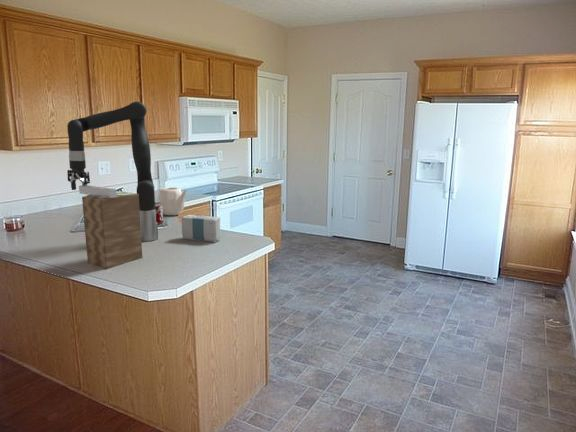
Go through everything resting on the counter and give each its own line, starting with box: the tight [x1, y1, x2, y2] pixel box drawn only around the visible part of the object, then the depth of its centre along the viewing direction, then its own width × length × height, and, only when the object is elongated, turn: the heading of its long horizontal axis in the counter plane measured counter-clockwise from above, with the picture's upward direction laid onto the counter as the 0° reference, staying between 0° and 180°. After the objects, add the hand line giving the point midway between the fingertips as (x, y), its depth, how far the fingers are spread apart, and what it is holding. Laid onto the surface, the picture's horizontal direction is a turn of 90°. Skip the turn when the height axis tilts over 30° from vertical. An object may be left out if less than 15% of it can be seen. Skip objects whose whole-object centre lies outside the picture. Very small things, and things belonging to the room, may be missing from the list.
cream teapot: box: [158, 186, 188, 216], centre depth 314 cm, size 16×27×19 cm, turn 59°
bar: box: [78, 184, 117, 198], centre depth 203 cm, size 22×4×4 cm, turn 59°
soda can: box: [155, 203, 164, 225], centre depth 287 cm, size 7×7×12 cm
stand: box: [81, 190, 143, 270], centre depth 209 cm, size 14×20×32 cm
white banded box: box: [181, 205, 221, 242], centre depth 249 cm, size 21×8×20 cm, turn 73°
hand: (79, 190), depth 231 cm, fingers open, 8 cm apart
